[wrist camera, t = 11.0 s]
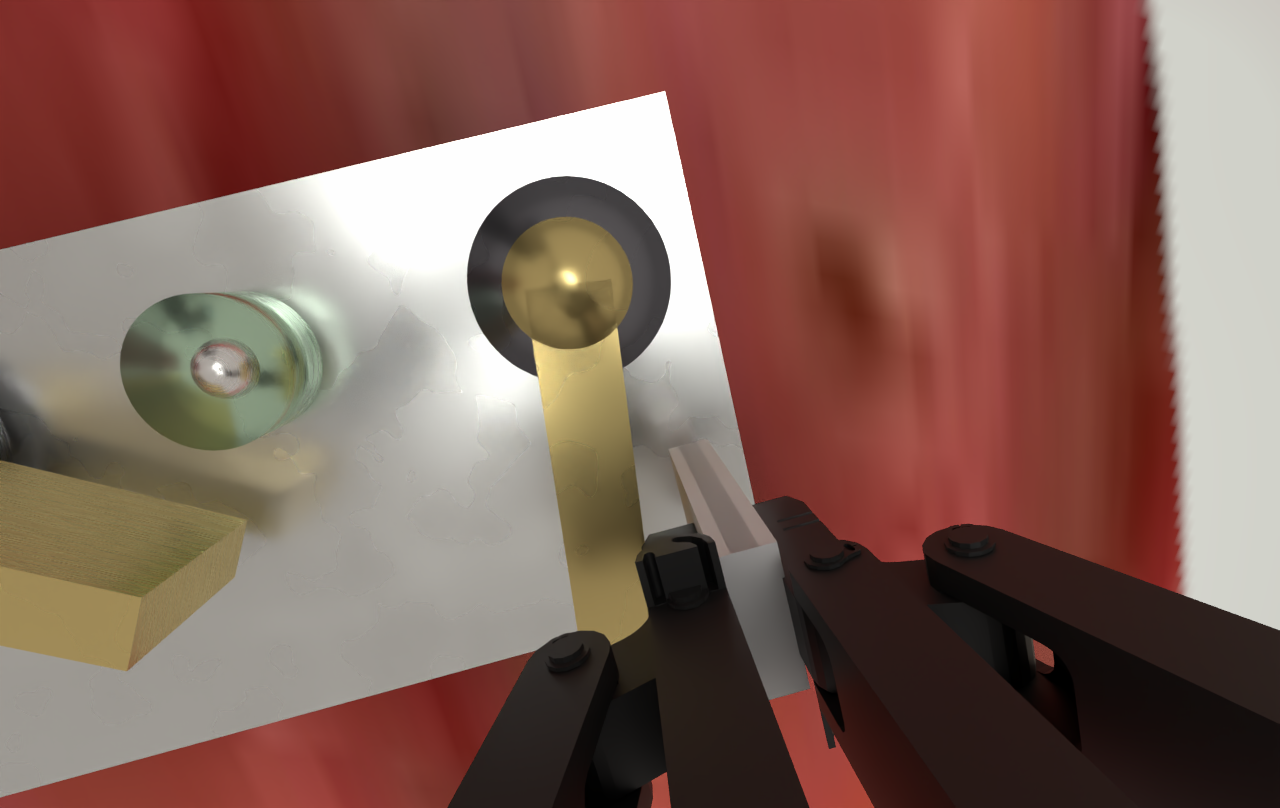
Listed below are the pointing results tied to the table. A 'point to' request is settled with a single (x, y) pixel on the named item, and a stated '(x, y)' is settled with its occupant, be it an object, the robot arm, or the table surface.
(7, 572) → the knob
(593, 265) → the knob
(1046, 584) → the robot arm
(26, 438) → the levelling plate
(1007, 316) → the table surface
